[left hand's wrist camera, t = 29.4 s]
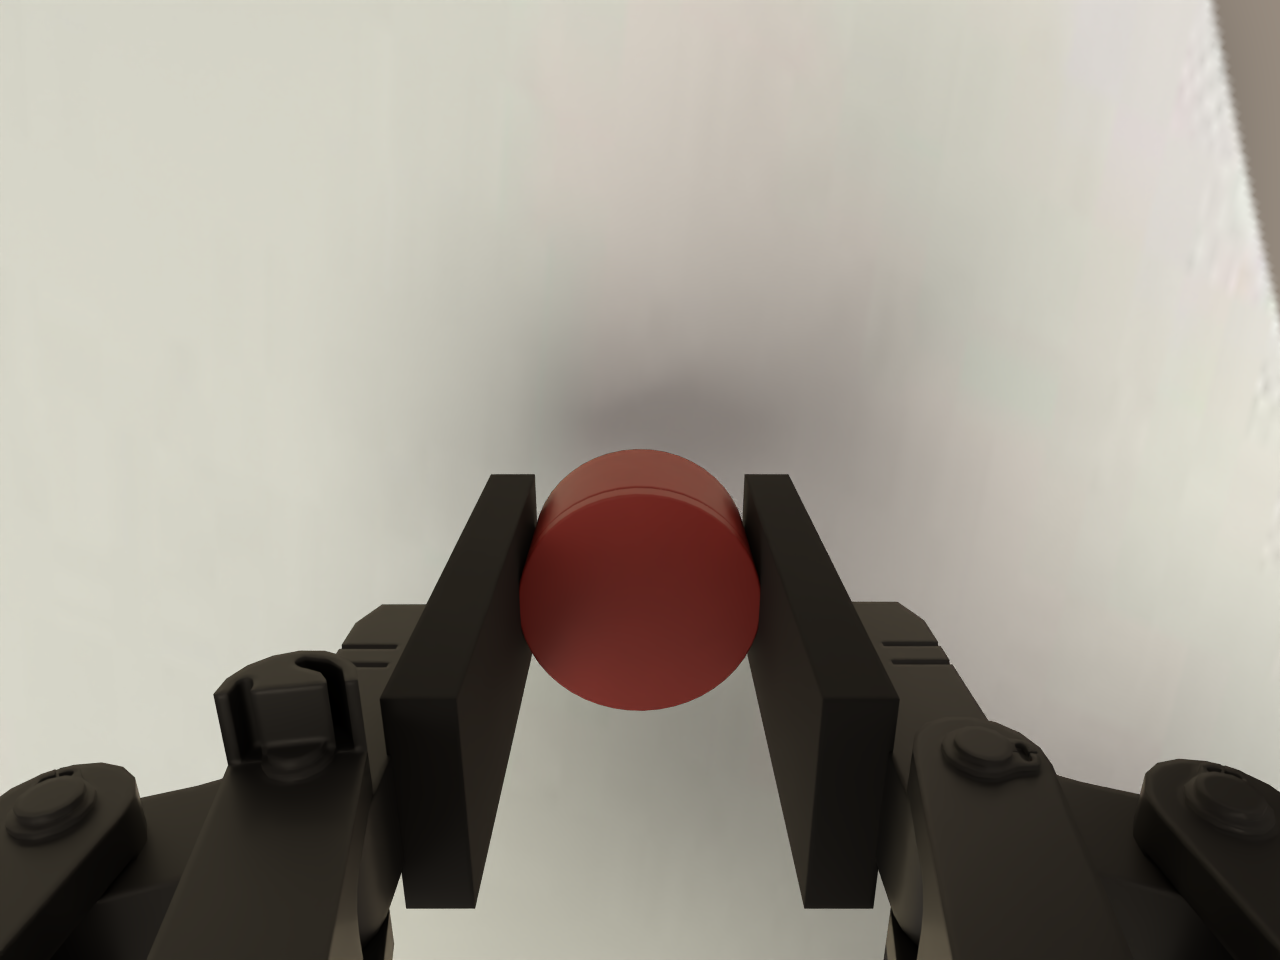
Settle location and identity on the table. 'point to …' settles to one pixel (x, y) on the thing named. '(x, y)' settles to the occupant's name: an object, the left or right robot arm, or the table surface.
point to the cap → (639, 582)
